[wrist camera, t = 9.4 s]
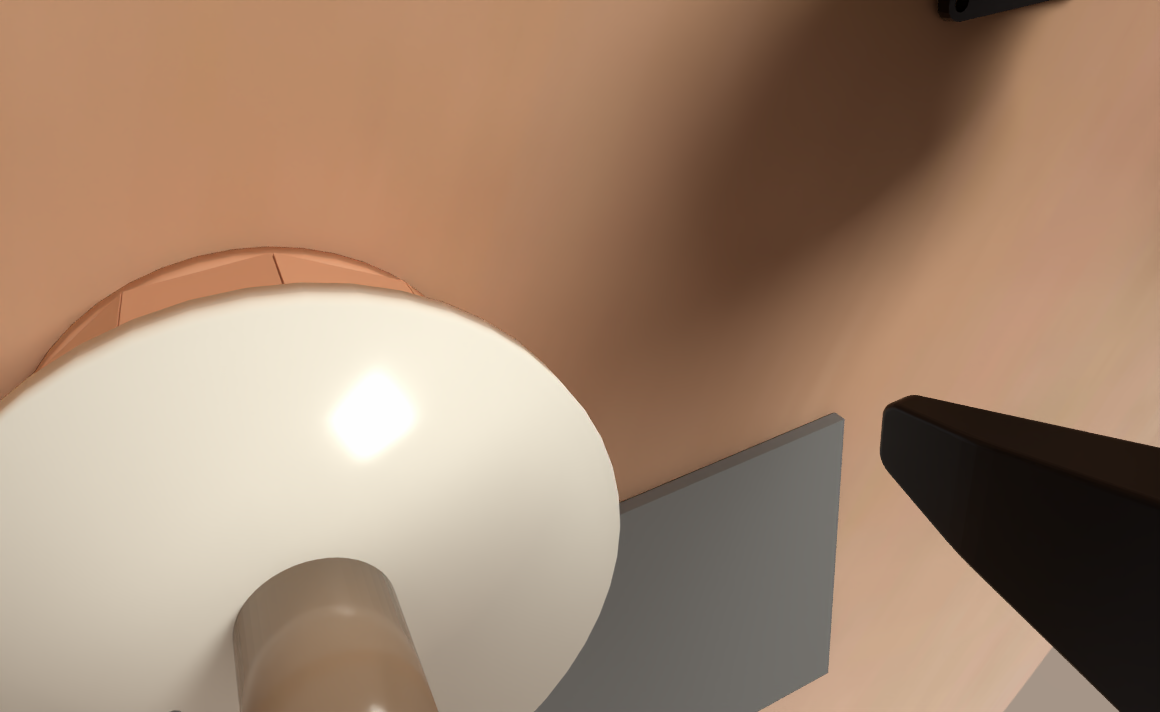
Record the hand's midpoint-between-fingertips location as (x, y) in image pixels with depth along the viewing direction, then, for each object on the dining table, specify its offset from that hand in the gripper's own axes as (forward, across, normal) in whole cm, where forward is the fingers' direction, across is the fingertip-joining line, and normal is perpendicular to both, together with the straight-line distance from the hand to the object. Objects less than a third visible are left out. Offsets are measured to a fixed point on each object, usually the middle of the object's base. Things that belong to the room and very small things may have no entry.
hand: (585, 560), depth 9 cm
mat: (+12, -7, +18) cm, 22 cm away
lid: (+6, +4, +4) cm, 9 cm away
